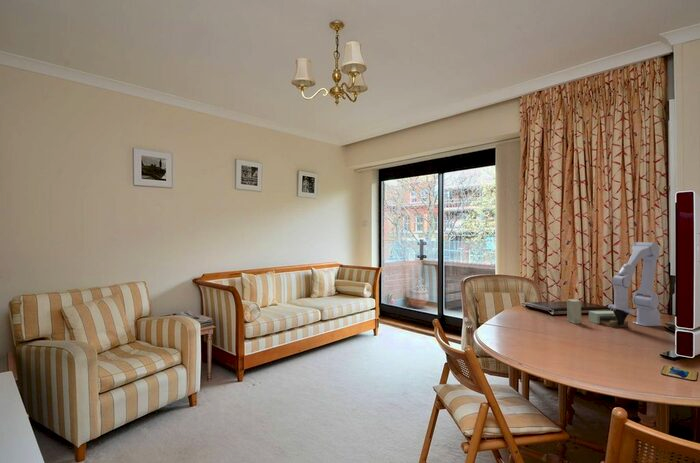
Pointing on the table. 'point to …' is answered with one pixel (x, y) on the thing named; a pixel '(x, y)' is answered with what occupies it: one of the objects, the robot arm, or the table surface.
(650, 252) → the robot arm
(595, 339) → the table surface
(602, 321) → the board
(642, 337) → the table surface
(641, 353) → the table surface
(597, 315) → the shelf
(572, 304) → the skincare box
